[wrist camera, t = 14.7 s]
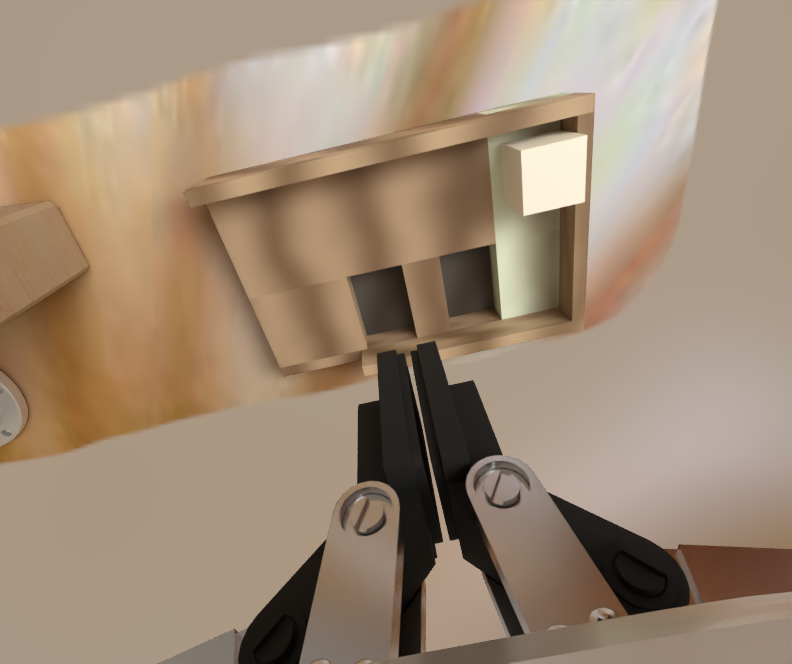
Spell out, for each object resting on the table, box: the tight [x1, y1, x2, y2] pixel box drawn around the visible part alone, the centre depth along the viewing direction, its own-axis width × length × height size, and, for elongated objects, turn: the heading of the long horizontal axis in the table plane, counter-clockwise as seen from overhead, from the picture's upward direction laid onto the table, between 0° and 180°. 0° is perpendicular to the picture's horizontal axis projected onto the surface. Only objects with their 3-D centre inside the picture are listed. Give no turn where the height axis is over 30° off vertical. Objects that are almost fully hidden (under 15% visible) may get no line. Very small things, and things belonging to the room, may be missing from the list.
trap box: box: [183, 93, 595, 377], centre depth 31 cm, size 26×17×5 cm, turn 102°
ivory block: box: [501, 130, 587, 216], centre depth 27 cm, size 4×4×4 cm
